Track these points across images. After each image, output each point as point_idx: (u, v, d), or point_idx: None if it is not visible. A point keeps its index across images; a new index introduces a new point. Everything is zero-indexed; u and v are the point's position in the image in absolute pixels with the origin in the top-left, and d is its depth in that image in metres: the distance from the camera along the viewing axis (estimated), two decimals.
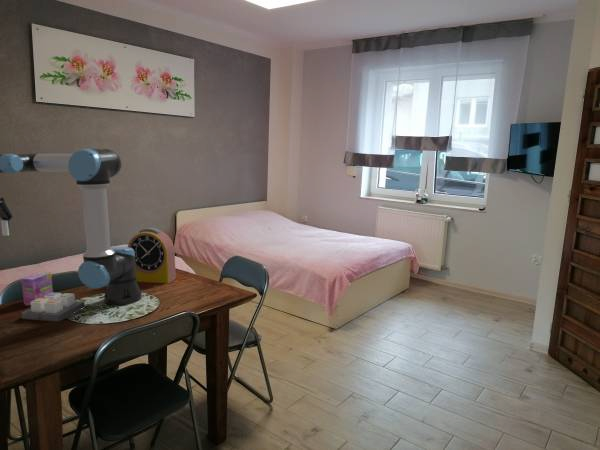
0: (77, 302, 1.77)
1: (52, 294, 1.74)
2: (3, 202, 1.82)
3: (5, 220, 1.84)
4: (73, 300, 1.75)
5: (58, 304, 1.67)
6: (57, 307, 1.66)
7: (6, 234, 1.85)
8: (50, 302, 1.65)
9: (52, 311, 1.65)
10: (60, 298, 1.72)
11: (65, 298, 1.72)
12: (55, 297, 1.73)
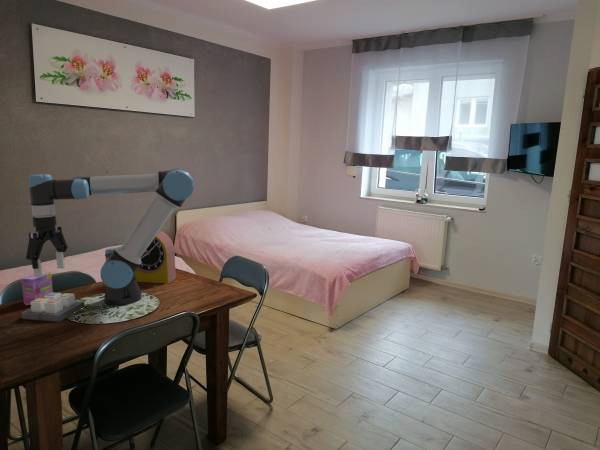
0: (77, 302, 1.77)
1: (52, 294, 1.74)
2: (60, 231, 1.68)
3: (61, 252, 1.70)
4: (73, 300, 1.75)
5: (58, 304, 1.67)
6: (57, 307, 1.66)
7: (61, 267, 1.70)
8: (50, 302, 1.65)
9: (52, 311, 1.65)
10: (60, 298, 1.72)
11: (65, 298, 1.72)
12: (55, 297, 1.73)
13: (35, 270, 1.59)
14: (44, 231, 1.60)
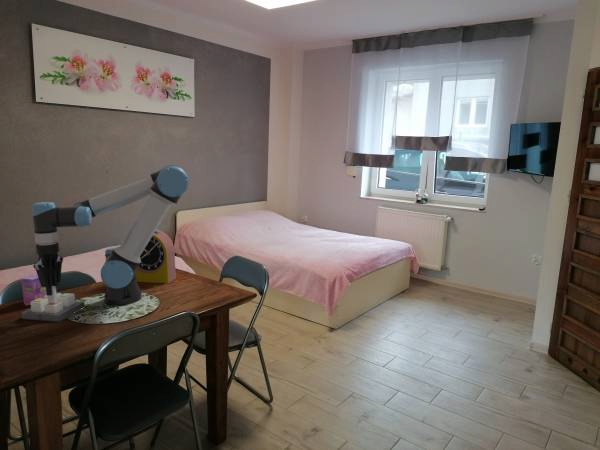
0: (77, 302, 1.77)
1: None
2: (61, 262, 1.69)
3: (53, 286, 1.66)
4: (73, 300, 1.75)
5: (58, 306, 1.67)
6: (57, 310, 1.67)
7: None
8: (50, 304, 1.66)
9: None
10: (60, 298, 1.72)
11: (65, 298, 1.72)
12: None
13: (49, 296, 1.66)
14: (46, 257, 1.62)
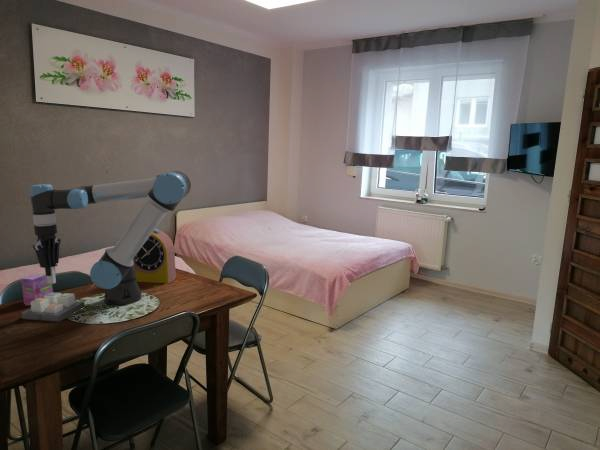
0: (77, 302, 1.77)
1: (52, 294, 1.74)
2: (58, 243, 1.73)
3: (52, 266, 1.70)
4: (73, 300, 1.75)
5: (59, 308, 1.67)
6: None
7: None
8: (50, 306, 1.66)
9: None
10: (60, 298, 1.72)
11: (65, 298, 1.72)
12: (55, 297, 1.73)
13: (48, 277, 1.70)
14: (45, 238, 1.65)
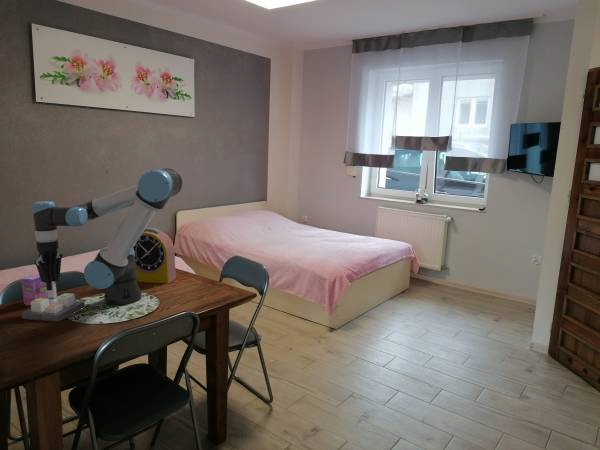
0: (77, 302, 1.77)
1: (52, 298, 1.74)
2: (60, 258, 1.77)
3: (53, 281, 1.74)
4: (73, 300, 1.75)
5: (59, 308, 1.67)
6: None
7: None
8: (50, 306, 1.66)
9: None
10: (60, 298, 1.72)
11: (65, 298, 1.72)
12: (55, 301, 1.74)
13: (49, 291, 1.74)
14: (46, 253, 1.69)
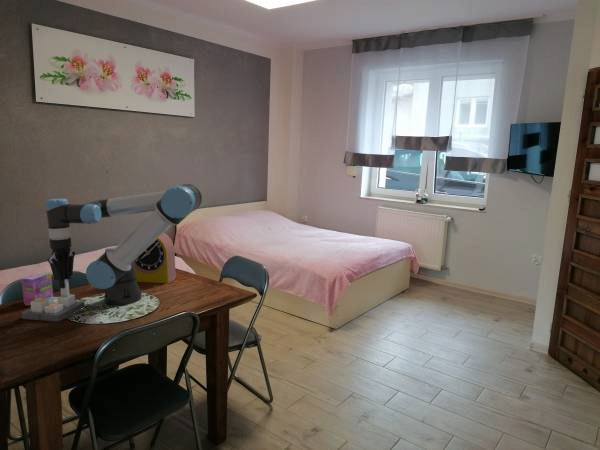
0: (77, 302, 1.77)
1: (52, 298, 1.74)
2: (73, 256, 1.76)
3: (66, 279, 1.73)
4: (73, 301, 1.75)
5: (59, 308, 1.67)
6: None
7: None
8: (50, 306, 1.66)
9: None
10: (60, 299, 1.72)
11: (65, 299, 1.72)
12: (55, 301, 1.74)
13: (62, 289, 1.73)
14: (59, 251, 1.68)
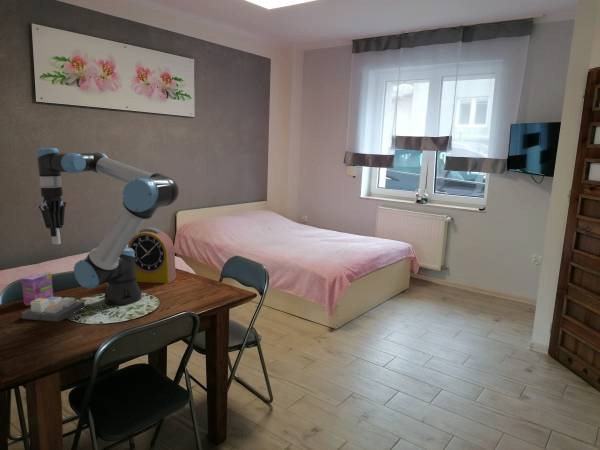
0: (77, 302, 1.77)
1: (52, 298, 1.74)
2: (64, 206, 1.80)
3: (57, 228, 1.77)
4: None
5: (59, 308, 1.67)
6: None
7: None
8: (50, 306, 1.66)
9: None
10: (60, 302, 1.72)
11: (65, 302, 1.72)
12: (55, 301, 1.74)
13: (53, 238, 1.77)
14: (51, 199, 1.72)
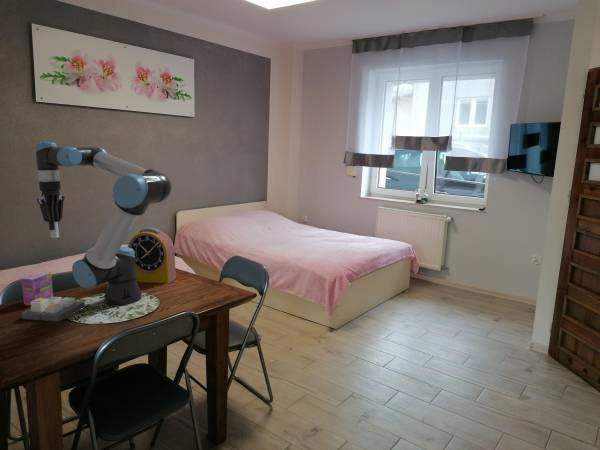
0: (77, 302, 1.77)
1: (52, 298, 1.74)
2: (62, 200, 1.81)
3: (56, 221, 1.79)
4: None
5: (59, 308, 1.67)
6: None
7: None
8: (50, 306, 1.66)
9: None
10: (60, 302, 1.72)
11: (65, 302, 1.72)
12: (55, 301, 1.74)
13: (52, 231, 1.78)
14: (49, 193, 1.74)
